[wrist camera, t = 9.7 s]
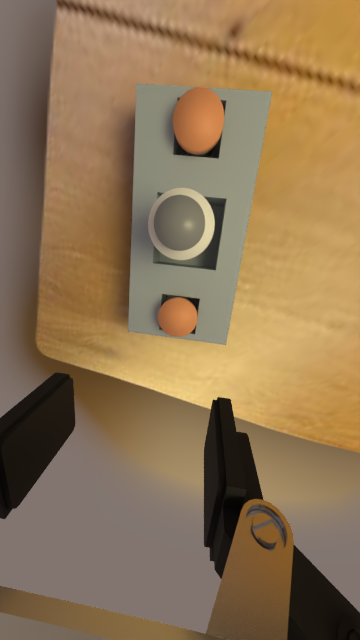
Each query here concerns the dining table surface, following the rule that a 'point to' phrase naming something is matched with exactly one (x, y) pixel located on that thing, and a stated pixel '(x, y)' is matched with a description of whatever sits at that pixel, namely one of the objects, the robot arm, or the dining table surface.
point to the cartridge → (181, 224)
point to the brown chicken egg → (198, 121)
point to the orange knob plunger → (177, 316)
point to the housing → (215, 186)
